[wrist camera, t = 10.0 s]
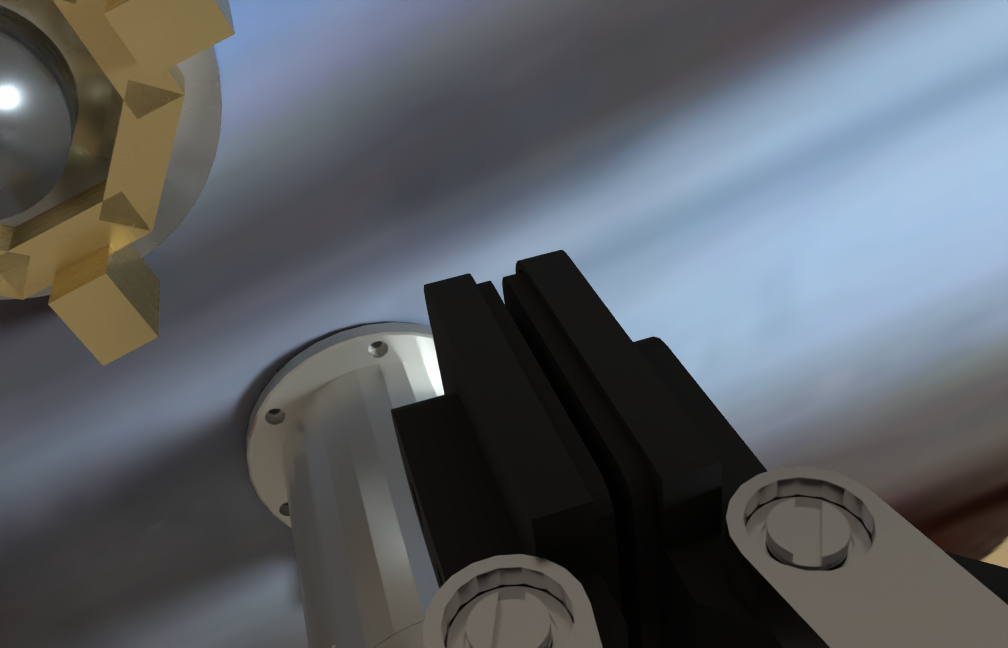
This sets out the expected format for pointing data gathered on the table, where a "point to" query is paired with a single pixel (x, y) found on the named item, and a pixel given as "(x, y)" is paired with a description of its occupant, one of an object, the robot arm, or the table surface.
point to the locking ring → (116, 176)
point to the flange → (86, 122)
